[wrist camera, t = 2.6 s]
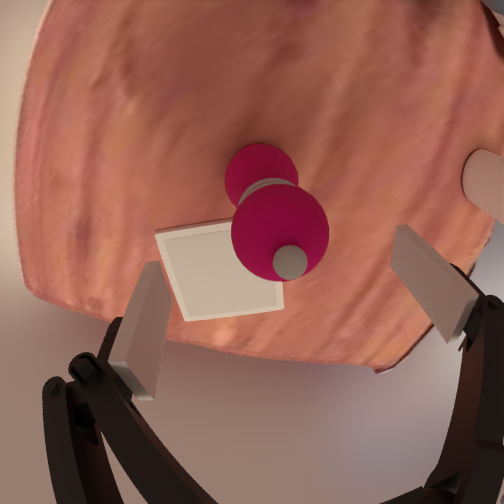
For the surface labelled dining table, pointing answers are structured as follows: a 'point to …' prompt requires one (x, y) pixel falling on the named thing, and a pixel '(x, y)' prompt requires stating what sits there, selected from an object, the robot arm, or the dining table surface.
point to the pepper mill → (273, 215)
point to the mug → (485, 182)
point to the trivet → (213, 273)
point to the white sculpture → (502, 21)
